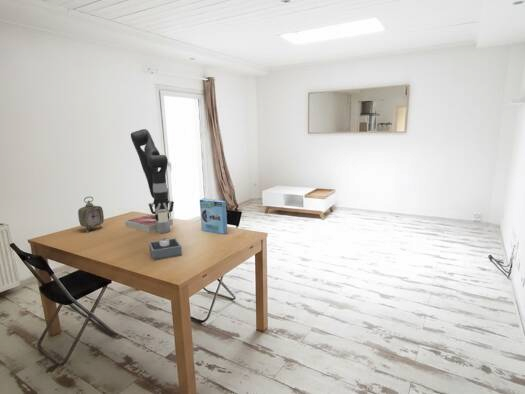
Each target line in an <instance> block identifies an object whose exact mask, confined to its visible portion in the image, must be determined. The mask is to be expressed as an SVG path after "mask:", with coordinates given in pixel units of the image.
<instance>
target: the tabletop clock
mask: <svg viewBox="0 0 525 394" xmlns="http://www.w3.org/2000/svg"><path fill="white" fill-rule="evenodd" d="M89 198H91V199H92V200H87V201H85V200H86V199H89ZM93 200H94V198H93V197H92V196H86V197H85V198H84V199H83V202H84V203H86V204H85V206H82V207H80V208H79V209H78V210H77V211H78V212H77V213H78V214H77V215H78V221H79V225H80V226H81V227H85V228H86V233H89V230H90V229H91V230H92V229H93V228H95V227H97V226H99V228H100V229H102V228H103V226H101V225H102V224H104V220H105V218H104V210H103V208H102V206H99V205H95V204H94V203H93Z"/></svg>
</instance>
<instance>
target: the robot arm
mask: <svg viewBox="0 0 525 394" xmlns="http://www.w3.org/2000/svg"><path fill="white" fill-rule="evenodd" d="M130 138H131V141H132V144H133V146H134V149H135V151H136V153H137V155H138V158H139V161H140V165H141V167H142V170H143V171H142V172H143V173H144V175H145V178H146V181H147V185H148V188H149V192H150V195H151V197H152V198H153V201H152V202H151V203H150V202H149V203H148V207H149V211H150V212H151V213H150V214H151V215H155V219H156V229H157V230H156V233H157V234H166V233H169V232H170V231H171V227H170V222H169V218H170V214H171V212H173V210H174V203H175V202H174V201H173V200H171V201H170V200H169V188H168V186H167V178H166V175H167V169H168V163H169V161H168V157H167V155H164V154H160V153H161V152H160V151H159V150H158V148H157V147H156V145H155V142H154V140H153V137H152V135H151V133H150V131H149V130H148V129H147V128H143V129H138V130H136V131H132V132H130ZM143 146H144V149H142V148H141V147H143ZM153 208H154V209H153ZM162 210H166V211H167V213H168V222H162V223H159V222H158V211H162Z"/></svg>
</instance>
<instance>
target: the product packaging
mask: <svg viewBox="0 0 525 394" xmlns="http://www.w3.org/2000/svg"><path fill="white" fill-rule="evenodd" d="M124 222H125V223H124V224H125V227H127V228H130V227H131V229H134V228H135V229H136V230H138V231H143V232H147V233H151V232H154V231H157V229H156V219H155V214H151V213H150V214H146V215H142V216H138V217H134V218H130V219H127V220H124ZM169 222H170V226H173V225H174V221H173V218H170V217H169Z"/></svg>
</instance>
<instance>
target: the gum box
mask: <svg viewBox="0 0 525 394" xmlns="http://www.w3.org/2000/svg"><path fill="white" fill-rule="evenodd" d="M226 202H227V201H226V200H221V199H212V198H205V197H204V198H201V199H199V208H200V222H201V223H200V225H201V231H203V232H209V233H215V234H221V235H224V234H226V233H228V218H227V216H228V215H227V203H226Z"/></svg>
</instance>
